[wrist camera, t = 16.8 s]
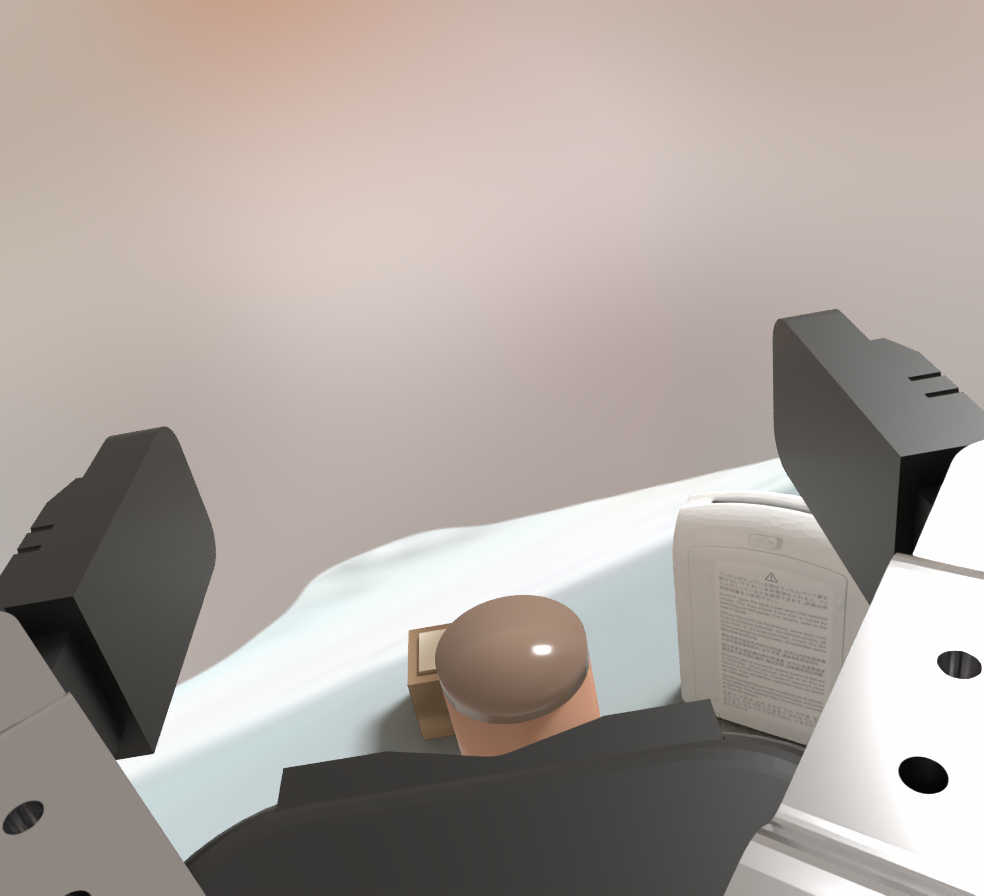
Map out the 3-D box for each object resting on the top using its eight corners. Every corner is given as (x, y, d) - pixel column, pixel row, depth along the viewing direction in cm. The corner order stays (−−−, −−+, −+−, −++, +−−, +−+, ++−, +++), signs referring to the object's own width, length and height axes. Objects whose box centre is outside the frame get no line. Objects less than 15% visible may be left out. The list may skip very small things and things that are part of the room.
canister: (612, 788, 42) (576, 584, 36) (634, 902, 37) (595, 688, 31) (491, 807, 43) (435, 608, 37) (497, 922, 38) (433, 715, 32)
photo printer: (908, 710, 44) (927, 496, 38) (889, 778, 41) (906, 559, 35) (700, 654, 49) (687, 458, 43) (670, 710, 46) (651, 509, 40)
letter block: (495, 672, 51) (482, 614, 49) (501, 728, 47) (487, 668, 45) (423, 684, 51) (407, 627, 49) (424, 741, 48) (406, 682, 45)
